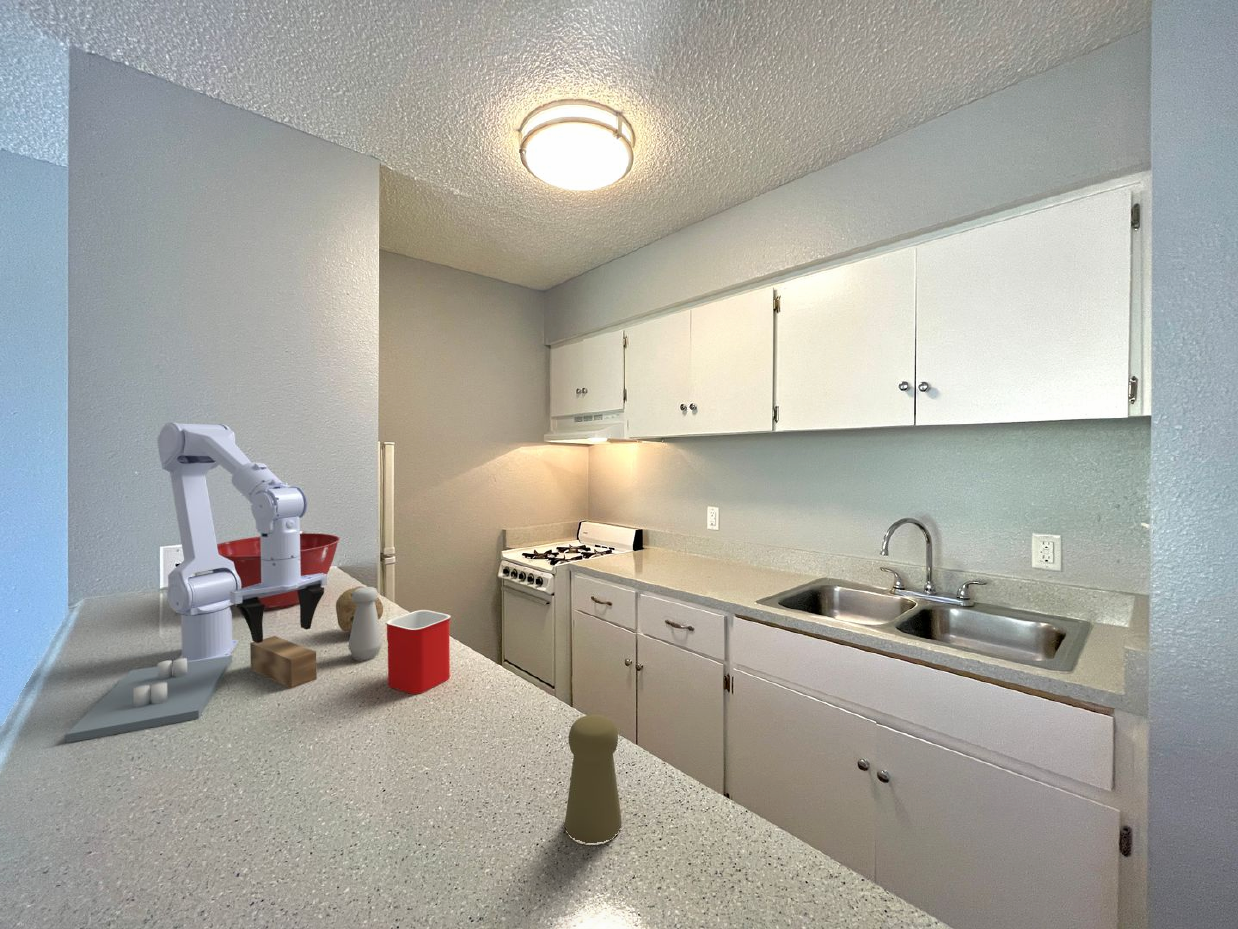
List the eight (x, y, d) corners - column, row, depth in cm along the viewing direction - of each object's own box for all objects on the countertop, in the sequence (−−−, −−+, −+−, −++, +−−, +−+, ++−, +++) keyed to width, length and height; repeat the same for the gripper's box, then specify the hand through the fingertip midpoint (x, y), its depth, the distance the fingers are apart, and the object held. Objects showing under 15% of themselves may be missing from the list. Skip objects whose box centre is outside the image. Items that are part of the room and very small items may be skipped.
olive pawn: (565, 805, 57) (565, 708, 56) (619, 802, 57) (619, 705, 57) (563, 848, 51) (563, 739, 50) (624, 844, 51) (624, 736, 51)
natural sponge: (385, 624, 115) (385, 580, 115) (380, 638, 106) (380, 590, 106) (340, 628, 112) (339, 583, 112) (331, 643, 104) (330, 594, 103)
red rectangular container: (455, 677, 89) (455, 616, 88) (416, 697, 81) (415, 631, 81) (408, 662, 94) (408, 605, 94) (367, 680, 87) (367, 618, 87)
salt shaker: (368, 664, 94) (367, 593, 93) (341, 661, 95) (340, 591, 94) (389, 651, 99) (388, 585, 99) (363, 649, 101) (362, 583, 100)
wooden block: (250, 670, 91) (250, 642, 91) (275, 662, 95) (274, 636, 95) (291, 690, 84) (291, 659, 84) (316, 680, 88) (316, 651, 87)
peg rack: (131, 677, 88) (131, 656, 88) (232, 662, 94) (231, 642, 94) (66, 743, 68) (65, 716, 68) (198, 718, 75) (198, 693, 75)
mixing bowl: (296, 621, 117) (295, 554, 116) (172, 620, 117) (171, 553, 116) (360, 587, 145) (360, 533, 144) (261, 587, 145) (259, 533, 145)
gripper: (242, 568, 81) (244, 653, 81) (335, 552, 93) (336, 626, 93) (223, 562, 84) (225, 644, 85) (315, 548, 97) (316, 619, 97)
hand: (282, 634), depth 89 cm, fingers open, 7 cm apart
